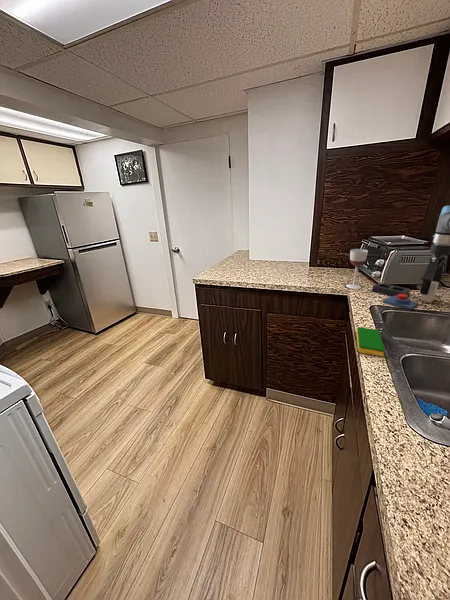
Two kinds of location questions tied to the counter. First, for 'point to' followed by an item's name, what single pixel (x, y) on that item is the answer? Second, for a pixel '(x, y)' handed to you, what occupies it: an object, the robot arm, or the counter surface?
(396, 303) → the switchbox
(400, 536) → the counter surface
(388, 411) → the counter surface
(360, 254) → the wineglass
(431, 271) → the robot arm
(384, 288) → the adapter
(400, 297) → the switch
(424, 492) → the counter surface
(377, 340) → the dish sponge
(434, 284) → the block
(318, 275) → the counter surface
